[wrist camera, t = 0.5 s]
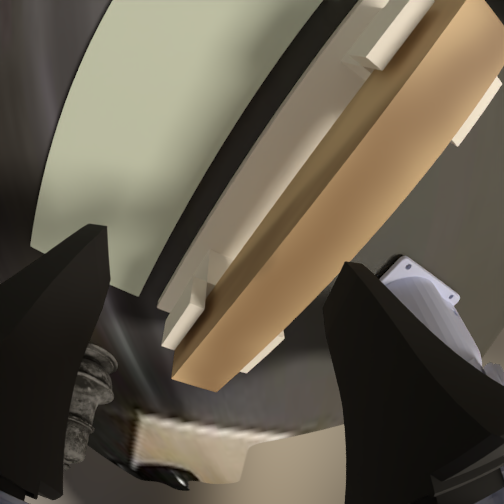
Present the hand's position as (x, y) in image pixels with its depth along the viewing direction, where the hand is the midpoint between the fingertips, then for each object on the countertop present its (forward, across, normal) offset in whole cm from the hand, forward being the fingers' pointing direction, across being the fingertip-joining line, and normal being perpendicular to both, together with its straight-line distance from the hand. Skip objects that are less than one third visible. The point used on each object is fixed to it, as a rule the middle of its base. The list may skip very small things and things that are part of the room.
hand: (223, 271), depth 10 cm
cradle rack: (+10, -4, 0) cm, 10 cm away
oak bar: (+6, -4, 0) cm, 7 cm away
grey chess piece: (+10, +10, +21) cm, 25 cm away
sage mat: (+9, +5, -3) cm, 11 cm away
